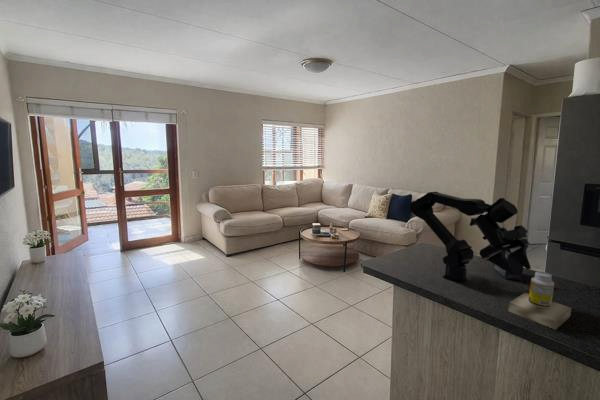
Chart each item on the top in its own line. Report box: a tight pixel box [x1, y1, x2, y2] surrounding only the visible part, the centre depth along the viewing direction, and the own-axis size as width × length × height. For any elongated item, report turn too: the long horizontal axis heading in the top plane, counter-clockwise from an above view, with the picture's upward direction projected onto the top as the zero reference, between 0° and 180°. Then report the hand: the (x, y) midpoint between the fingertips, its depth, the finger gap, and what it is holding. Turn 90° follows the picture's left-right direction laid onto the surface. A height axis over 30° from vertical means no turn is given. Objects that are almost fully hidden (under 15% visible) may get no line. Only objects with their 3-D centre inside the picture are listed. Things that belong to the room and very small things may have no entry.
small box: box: [493, 250, 524, 281], centre depth 122 cm, size 11×6×10 cm, turn 168°
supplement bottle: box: [528, 270, 555, 309], centre depth 92 cm, size 6×6×10 cm
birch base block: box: [507, 292, 572, 330], centre depth 93 cm, size 12×12×3 cm
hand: (521, 271), depth 97 cm, fingers open, 9 cm apart
